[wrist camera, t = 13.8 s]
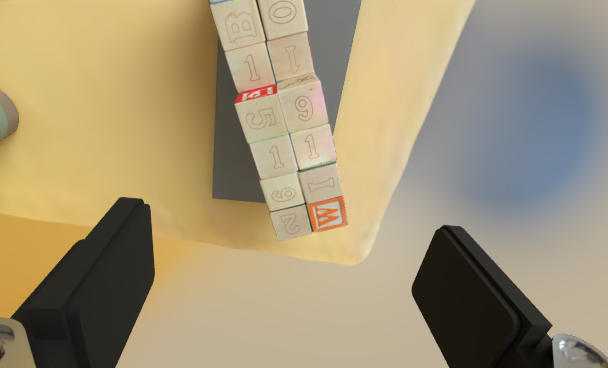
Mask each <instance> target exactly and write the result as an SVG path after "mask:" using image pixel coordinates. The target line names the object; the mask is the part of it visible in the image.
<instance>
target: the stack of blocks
mask: <svg viewBox="0 0 608 368" xmlns="http://www.w3.org/2000/svg"><path fill="white" fill-rule="evenodd" d="M209 2H210V9H211V12H212V15H213V18H214V21H215V25H216V28H217V31H218V34H219V37H220V40H221V43H222V46H223V49H224V52H225V56H226V59H227V62H228V66H229V69H230V72H231V74H232V77H233V80H234V83H235V86H236V89H237V92H238V93H239V94H238V95H237V98H236V100H235V102H234V105H235V108H236V111H237V114H238V117H239V120H240V123H241V126H242V129H243V132H244V135H245V138H246V141H247V143H248V144H249V146H250V149H251V152H252V155H253V158H254V161H255V164H256V167H257V170H258V173H259V176H260V178H259V181H260V184H261V188H262V191H263V194H264V197H265V200H266V203H267V206H268V209H269V211H270V217H271V220H272V223H273V227H274V230H275V233H276V236H277V239H278V241H282V240H286V239H290V238H295V237H299V236H304V235H309V234H312V232H321V231H325V230H329V229H333V228H337V227H341V226H345V225H348V219H347V214H346V209H345V203H344V198H343V190H342V185H341V180H340V176H339V171H338V167H337V163H336V160H337V156H336V151H335V146H334V141H333V136H332V132H331V127H330V124H329V121H328V115H327V110H326V105H325V100H324V95H323V91H322V86H321V82H320V80H319V79H318V77H317V76H316V74H315V70H314V65H313V59H312V54H311V49H310V43H309V38H308V25H307V19H306V13H305V8H304V3H303V0H209Z"/></svg>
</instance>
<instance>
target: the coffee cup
mask: <svg viewBox="0 0 608 368" xmlns="http://www.w3.org/2000/svg"><path fill="white" fill-rule="evenodd" d="M18 122H19V117H18V112H17V110H16V107H15V106H14V104H13V102H12V101H11V100H10V98H9V97H8V96H7V95H6V94H5V93H3V92H2V91H1V90H0V141H1V140H3V139H4V138H6V137H7V136H9V135H10V134H12V133H13V132H14V131H15V130H16V128H17V126H18Z"/></svg>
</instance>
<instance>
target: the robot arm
mask: <svg viewBox="0 0 608 368" xmlns="http://www.w3.org/2000/svg"><path fill="white" fill-rule="evenodd" d="M154 276H155V268H154V254H153V240H152V225H151V211H150V205H149V204H144V201H143V200H142V199H138V198H126V197H120V198H119V199H118V200H117V201H116V203H115V204H114V205H113V206H112V207H111V208H110V210H109V211H108V212H107V213H106V214H105V216H104V217H103V218H102V219H101V220H100V221H99V223H98V224H97V225H96V226H95V227H94V228H93V230H92V231H91V232H90V233H89V234H88V236H87V237H86V238H85V239H82V240H79V241H78V242H77V243H75V245H73V246H72V248H71V249H70V250H69V251H68V252H67V253H66V255H65V256H64V257H63V258H62V259H61V260H60V261H59V263H58V264H57V265H56V266H55V267H54V269H52V271H51V272H50V273H49V274H48V275H47V276H46V277H45V279H44V280H43V281H42V282H41V283H40V284H39V285H38V287H37V288H36V289H35V290H34V291H33V292H32V294H31V295H30V296H29V297H28V298H27V299H26V300H25V302H24V303H23V304H22V305H21V306H20V307H19V308H18V310H17V311H16V312H15V313H14V314H13V315H12V316H11V318H0V368H115V367H116V365H117V363H118V360H119V358H120V356H121V354H122V351H123V349H124V347H125V345H126V342H127V340H128V338H129V336H130V333H131V331H132V329H133V327H134V325H135V322H136V320H137V318H138V316H139V313H140V311H141V309H142V307H143V304H144V302H145V300H146V298H147V295H148V293H149V291H150V289H151V286H152V284H153V281H154ZM412 295H413V297H414V299H415V301H416V303H417V305H418V307H419V309H420V311H421V313H422V315H423V317H424V319H425V321H426V323H427V325H428V327H429V329H430V331H431V333H432V335H433V337H434V339H435V340H436V343H437V344H438V346H439V348H440V350H441V352H442V354H443V356H444V358H445V360H446V362H447V364H448V366H449V368H608V358H607V357H606V356H605V355H604V354H603V353H602V352H601V351H599V350H598V349H597V348H595V347H594V346H593V345H591V344H589V343H587V342H586V341H584V340H582V339H580V338H577V337H575V336H572V335H568V334H557V335H555V336H554V337H553V338H552V339H551V338H550V337H549V336H548V334H547V332H548V331H549V330H550V328H551V327H552V324H551V323H550V322H549V321H548V320H547V319H546V318H545V317H544V316H543V315H542V313H540V311H539V310H538V309H537V308H536V307H535V306H534V305H533V304H532V302H530V300H529V299H528V298H527V297H526V296H525V295H524V294H523V293H522V292H521V291H520V289H519V288H518V287H517V286H516V285H515V284H514V283H513V282H512V281H511V280H510V279H509V277H508V276H507V275H506V274H505V273H504V272H503V271H502V270H501V269H500V268H499V267H498V266H497V264H496V263H495V262H494V261H493V260H492V259H491V258H490V257H489V256H488V255H487V254H486V252H485V251H484V250H483V249H482V248H481V247H480V246H479V245H478V244H477V243H476V242H475V241H474V239H473V238H472V237H471V236H470V235H469V234H468V233H467V232H466V231H465V230H464V229H463V228H462V227H460V226H450V225H444V226H442V227H441V228H440V229H437V230H436V232H435V234H434V236H433V238H432V241H431V243H430V245H429V248H428V250H427V252H426V255H425V257H424V259H423V262H422V264H421V266H420V269H419V271H418V273H417V276H416V278H415V280H414V283H413V285H412Z"/></svg>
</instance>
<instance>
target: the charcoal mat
mask: <svg viewBox="0 0 608 368" xmlns="http://www.w3.org/2000/svg"><path fill="white" fill-rule="evenodd" d="M303 3H304V8H305V13H306V19H307V25H308V38H309V43H310V49H311V54H312V59H313V65H314V70H315V74H316V76H317V77H318V79H319V80H320V82H321V86H322V91H323V95H324V100H325V105H326V110H327V115H328V121H329V124H330V127H331V132H332V136H333V132H334V127H335V123H336V118H337V113H338V108H339V104H340V99H341V94H342V90H343V85H344V80H345V75H346V71H347V66H348V61H349V57H350V52H351V47H352V42H353V38H354V33H355V28H356V24H357V19H358V14H359V9H360V5H361V0H303ZM238 94H239V93H238V92H237V89H236V86H235V83H234V80H233V77H232V74H231V72H230V69H229V66H228V62H227V59H226V56H225V52H224V49H223V46H222V43H221V40H220V37H219V34H218V56H217V85H216V113H215V142H214V170H213V198H218V199H229V200H240V201H251V202H262V203H266V200H265V197H264V194H263V191H262V188H261V184H260V181H259V178H260V176H259V173H258V170H257V167H256V164H255V161H254V158H253V155H252V152H251V149H250V146H249V144H248V143H247V141H246V138H245V135H244V132H243V129H242V126H241V123H240V120H239V117H238V114H237V111H236V108H235V105H234V102H235V100H236V98H237V95H238Z"/></svg>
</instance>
